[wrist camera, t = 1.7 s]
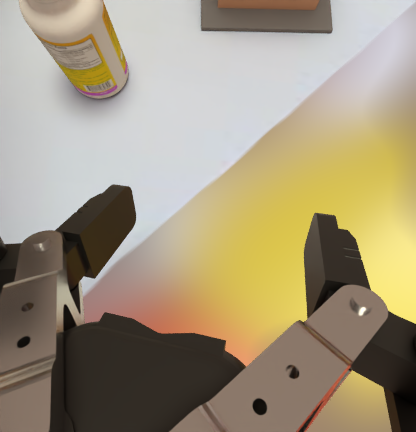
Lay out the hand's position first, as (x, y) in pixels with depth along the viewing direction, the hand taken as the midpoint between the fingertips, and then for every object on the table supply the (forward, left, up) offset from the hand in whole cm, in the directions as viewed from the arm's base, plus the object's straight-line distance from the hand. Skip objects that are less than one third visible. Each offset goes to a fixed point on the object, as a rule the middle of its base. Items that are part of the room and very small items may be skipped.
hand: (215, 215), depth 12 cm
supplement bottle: (-23, +1, -18) cm, 29 cm away
